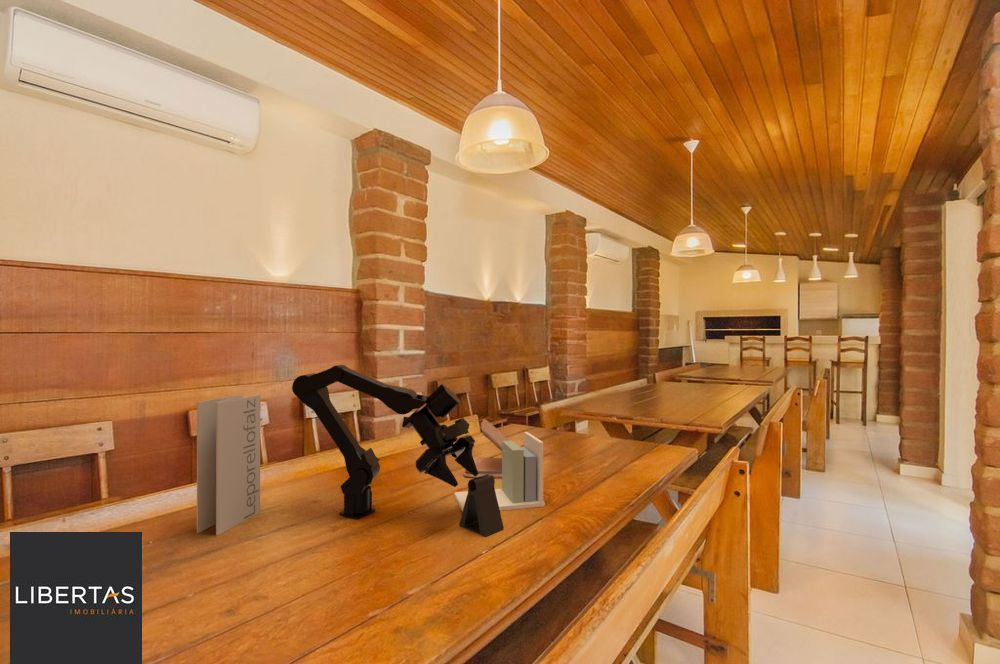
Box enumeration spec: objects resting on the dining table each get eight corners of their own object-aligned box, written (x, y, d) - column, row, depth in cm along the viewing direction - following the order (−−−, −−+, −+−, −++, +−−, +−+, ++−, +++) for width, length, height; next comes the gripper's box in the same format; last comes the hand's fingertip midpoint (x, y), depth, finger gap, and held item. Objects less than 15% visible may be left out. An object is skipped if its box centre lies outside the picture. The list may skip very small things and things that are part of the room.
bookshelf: (463, 513, 123) (463, 447, 123) (454, 495, 137) (454, 435, 137) (544, 506, 129) (545, 442, 129) (528, 489, 142) (528, 431, 142)
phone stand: (503, 529, 114) (504, 478, 114) (485, 537, 109) (485, 484, 109) (477, 519, 120) (477, 470, 120) (459, 526, 116) (459, 475, 116)
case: (528, 479, 153) (529, 428, 153) (462, 478, 153) (462, 428, 153) (526, 462, 173) (526, 417, 173) (467, 462, 174) (468, 417, 174)
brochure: (217, 535, 110) (217, 402, 110) (196, 533, 111) (196, 402, 111) (260, 512, 124) (260, 394, 124) (241, 510, 125) (241, 394, 125)
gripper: (425, 414, 111) (466, 469, 106) (468, 404, 127) (506, 450, 122) (398, 445, 115) (437, 499, 110) (443, 431, 131) (479, 477, 126)
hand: (467, 480), depth 117 cm, fingers open, 9 cm apart
